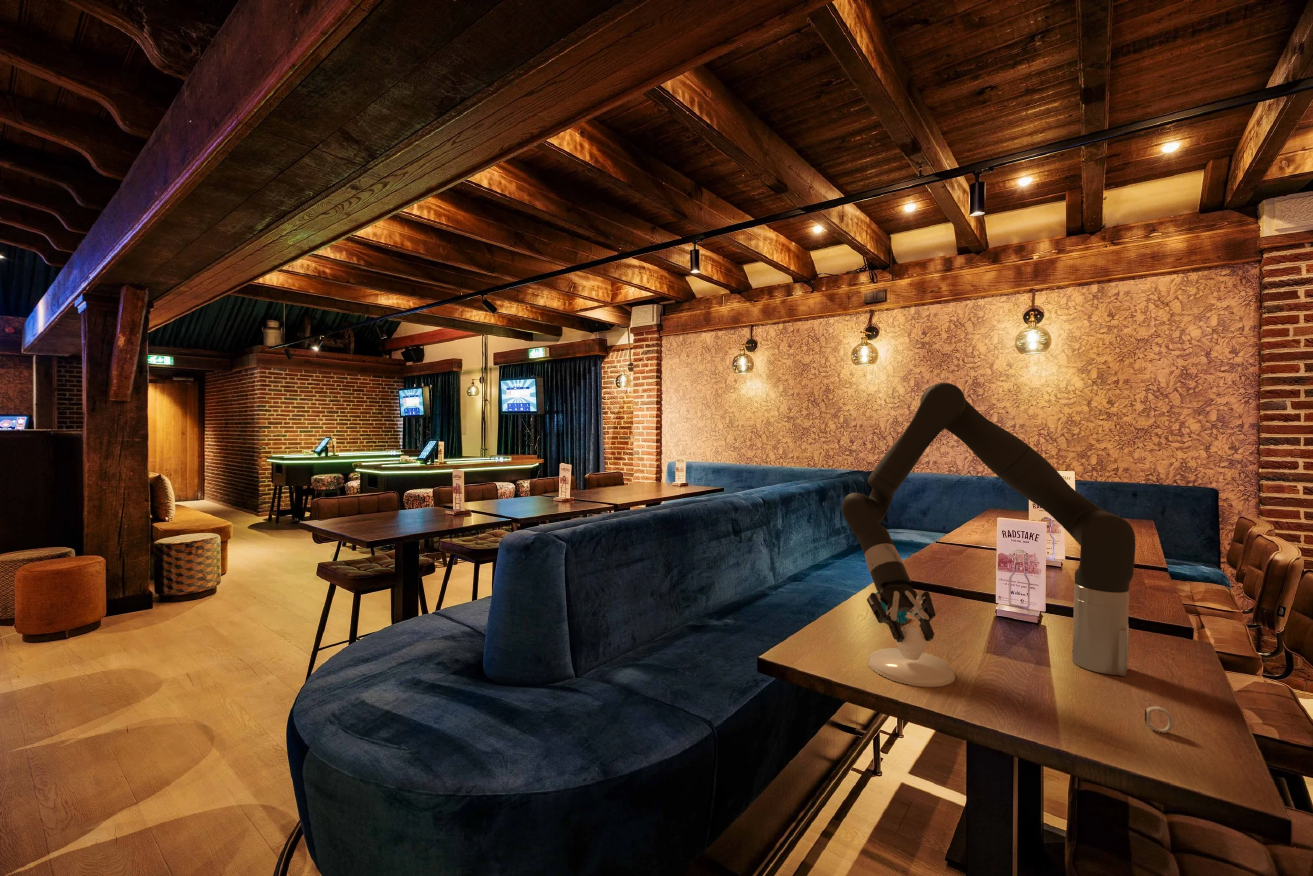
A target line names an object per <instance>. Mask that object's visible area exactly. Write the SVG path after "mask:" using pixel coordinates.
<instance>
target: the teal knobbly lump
mask: <svg viewBox="0 0 1313 876" xmlns="http://www.w3.org/2000/svg"><path fill="white" fill-rule="evenodd" d="M874 593H875V594H878V591H877V592H874ZM880 603H881V605H882V607H883V608H884V610H885V612H886V610H887V606H886V605H885V604H884V603H883V602H882V601H881V602H880ZM907 616H908V612H903V611H900V612H897V619H896V621H898V622H899V624H900V623H901V624H900V625H903V624H902V623H904V624H905V623H906V622H907V621H908V620H909V618H908V617H907Z"/></svg>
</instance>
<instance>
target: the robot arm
mask: <svg viewBox="0 0 1313 876" xmlns="http://www.w3.org/2000/svg"><path fill="white" fill-rule="evenodd" d="M944 429H945V430H947V431H948V432H949V433H951V434H953V436H955V437H957V438H958V439H959V440H960V441H961V442H962V443H963V444H964V445H966V446H967V447H968V449H970V451H971V452H972V453H973V454H974V455H975V456H976V457H977V458H978V459H979V460H980V461H981V462H982V463H983V464H984V465H985V466H986V467H987V468H988V469H989V470H990V471H991V472H992V473H993V474H995V475H996V476H997V477H998V478H999V479H1001V481H1003V482H1004V483H1006V484H1007V486H1009V487H1010V488H1012V489H1013V490H1015V491H1016V492H1017V493H1019V494H1020V495H1021V496H1023V497H1024V498H1026V499H1027V500H1028V501H1030V502H1031V503H1033V504H1035V505H1036V506H1038V507H1040V508H1041V509H1042V510H1043V511H1045V512H1046V513H1047V514H1049V515H1050V517H1052V518H1053V519H1054V520H1055V521H1056V522H1057V523H1058V524H1059V525H1060V526H1061V527H1062V528H1063V529H1064V530H1065V531H1066V532H1067V533H1068V534H1069V535H1070V536H1071V537H1072V538H1073V539H1074V541H1075V542H1076V543H1077V544H1078V545H1079V546H1080V553H1079V554H1080V558H1079V565H1078V568H1077V569H1076V570H1075V572H1074V582H1073V583H1074V585H1073V589H1074V591H1073V622H1072V652H1071V653H1072V656H1071V657H1072V659H1071V660H1072V662H1073V663H1074V664H1075V665H1076V666H1078V667H1080V668H1083V669H1086V670H1088V671H1093V672H1095V673H1100V674H1105V675H1106V674H1107V675H1114V676H1122V677H1126V676H1127V671H1128V662H1129V661H1128V659H1129V658H1128V656H1129V633H1130V632H1129V627H1130V624H1129V602H1130V601H1129V599H1130V583H1131V581H1132V579H1133V577H1134V571H1135V559H1136V533H1135V530H1134V529H1133V526H1132V525H1131V524H1130V522H1129V521H1127V520H1126V519H1124V518H1122V517H1121V516H1119V515H1116V514H1114V513H1111V512H1108V511H1106V510H1105V509H1103V508H1101V507H1099V506H1098V505H1096V504H1094V502H1091V501H1090V500H1089V499H1087V498H1086V497H1085V496H1083V495H1082V494H1080V493H1079V492H1078V491H1077V490H1075V489H1074V488H1073V487H1072V486H1071V485H1070V484H1069V483H1068V482H1067V481H1066V480H1065V478H1064V477H1063V476H1062V475H1061V474H1060V472H1059V471H1058V470H1057V469H1056V468H1055V466H1053V465H1052V464H1051V463H1050V462H1049V461H1048V460H1047V459H1046V458H1045V457H1043V456H1042V455H1041V453H1039V452H1038V451H1036V450H1035V449H1034V448H1033V447H1032V446H1030V445H1029V444H1028V443H1026V442H1024V440H1022V439H1021V438H1019V437H1018V436H1016V435H1014V434H1013V433H1011V432H1010V431H1008V430H1006V429H1004V428H1003V427H1001V426H1000V425H998V424H996V423H994V422H992V421H990V419H988V418H987V417H985V416H984V415H982V413H980V412H979V410H977V409H976V408H975V407H974V406H973V405H972V404H971V403H970V402H969V401H967V399H966V397H965V394H964V392H963V391H962V389H961V388H959V386H957V385H955V384H953V383H950V382H949V383H948V382H938V383H934V384H933V385H931V386H930V387H928V388H927V389H925V391H924V392H923V393H922V396H921V397H920V404H919V405H918V408H917V410H916V412H915V414H914V416H913V417H912V420H911V421H910V423H908V426H907V427H906V429H905V430H904V431H903V433H902V434H901V435H900V436H899V438H897V440H896V441H895V442H894V444H892V445H891V447H890V448H889V449H888V451H887V452H886V453H885V454H884V455H883V457H882V458H881V459H880V460H879V462H878V463H877V464H876V466H875V467H874V469H873V470H872V472H871V473H870V474H869V476H868V478H867V484H868V485H869V486H870V487H871V491H870V493H869V496H868V495H865V494H864V493H860V492H852V493H849V494H847V495H846V496H845V497H844V499H843V500H842V503H841V504H842V505H841V511H842V515H843V517H844V519H845V521H846V523H847V525H848V526H849V528H850V529H851V531H852V533H853V534H854V535H855V537H857V540H858V541H859V544H860V546H861V547H860V548H861V549H862V552H863V555H864V557H865V563H866V567H867V568H868V571H869V573H870V577H871V578H872V582H873V584H874V587H875V589H876V591H877V592H878V594H875V593H876V592H871V593H870V594H869V595H868V597H867V598H866V601H867V603H868V605H869V607H870V609H871V611H872V613H873V615H874V617H875V619H876V620H877V622H878V623H879V624H883V623H884V624H886V625H887V626H888V627H889V631H890V633H891V636H892V638H893V639H894V640H895V642H896V641H897V642H902V641H903V640H904V635H903V633H902V627H901V624H900V623H899V622H898V621H896V619H897V612H900V611H903V612H907V614H909V616H910V617H913V618H914V620H916V621H917V622H918V623H919V625H918V626H919V629H920V632H921V634H922V636H923V637H924V638H925V639H926V641H927V642H931V641H932V640H933V639H934V636H935V631H934V629H933V627H932V625H931V623H930V622H931V621H932V620H933V619H934V618H935V617H936V611H935V608H934V605H933V601H932V597H931V595H930V592H929V591H927V590H925V591H924V592H917V591H916V590H915V589H914V588H913V586H912V581H911V578H910V576H909V573H908V572H907V569H906V567H905V564H904V563H903V560H902V557H901V555H900V554H899V552H898V550H897V549H896V546H895V545H894V542H893V539H892V538H891V535H890V532H888V529H887V528H886V527H885V526H884V525H883V524H881V522H882V521H883V520H884V519H885V517H886V516H887V514H888V511H889V508H890V505H891V503H892V501H893V499H894V496H895V493H896V492H897V490H898V489H899V488H900V487H901V485H902V484H903V483H904V481H905V480H906V479H907V477H908V476H909V475H910V474H911V472H912V470H913V469H914V467H915V466H916V464H917V463H918V461H919V459H920V458H922V456H923V454H924V453H925V452H926V450H927V449H928V448H929V446H930V445H931V443H933V441H934V440H935V439H936V438H937V437H938V436H939V434H941V432H943V430H944ZM881 601H882V602H883V603H884V604H885V605H886V606H887V610H886V612H885V610H884V608H883V607H882V605H881V603H880V602H881ZM913 608H914V609H913Z"/></svg>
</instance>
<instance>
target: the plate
mask: <svg viewBox="0 0 1313 876" xmlns="http://www.w3.org/2000/svg"><path fill="white" fill-rule="evenodd" d="M867 658H868V659H867V665H868V664H869V665H868V667H869V666H870V667H869V668H870V669H871V670H872V669H873V670H874V671H875V672H877V673H878V674H877V673H876V674H877V675H879V674H880V675H882V676H884V677H886V678H885V679H887V680H889V679H890V680H889V681H892V680H893V682H895V681H896V682H895V683H898V682H899V684H902V683H904V684H903V685H906V684H908V685H907V686H913V687H920V688H921V687H922V688H940V687H945V686H949V685H950V684H951V685H952V683H953V682H955V680H956V672H955V670H954V668H953V667H952V666H951V664H949V663H948V662H947V661H946V660H944V659H942V658H939V657H937V656H935V655H933V654H930V653H926V652H923V653H922V655H921V656H920V658H919V659H918V660H910V659H906V658H904V657H903V656H902V655H901V653H900V650H899V648H898V647H897V648H896V647H894V648H893V647H891V648H890V647H889V648H888V647H887V648H881V649H876V650H875V651H873V652H871V654H870V655H869V656H868V657H867ZM873 670H872V671H873ZM874 671H873V672H874ZM875 672H874V673H875ZM880 675H879V676H880ZM882 676H881V677H882ZM884 677H883V678H884Z"/></svg>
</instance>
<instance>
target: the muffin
mask: <svg viewBox="0 0 1313 876" xmlns="http://www.w3.org/2000/svg"><path fill="white" fill-rule="evenodd" d="M901 630H902V633H903V635H904V640H903V641H902V642H897V641H896V640H895V642H896V646H897V648H899V650H900V653H901V655H902V656H903V657H904V658H906V659H910V660H918V659H919V658H920V656H921V655H922V653H923V652H924V651H925V650H926V648H927V645H928V641H926V639H925V638H924V635H923V633H922V632H921V628H920V627H918V626H917V625H915V624H912V623H911V624H909V623H908V624H903V625H902V627H901ZM924 653H925V652H924Z"/></svg>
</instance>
